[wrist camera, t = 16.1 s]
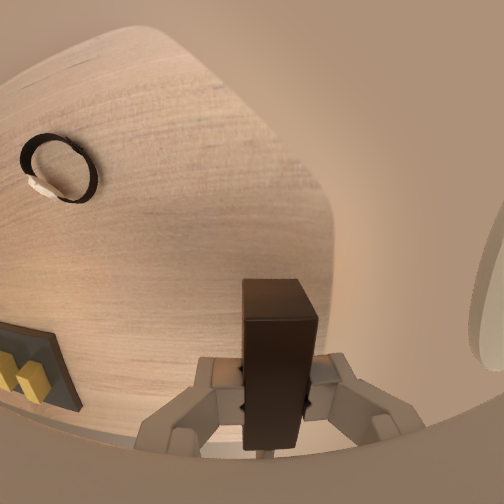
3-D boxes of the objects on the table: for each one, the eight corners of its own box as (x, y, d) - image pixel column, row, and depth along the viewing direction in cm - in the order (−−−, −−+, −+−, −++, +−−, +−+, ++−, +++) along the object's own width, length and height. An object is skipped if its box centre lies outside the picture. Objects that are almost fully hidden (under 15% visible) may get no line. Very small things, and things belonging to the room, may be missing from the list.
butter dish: (54, 333, 22) (48, 339, 21) (82, 406, 24) (79, 412, 23) (-38, 311, 21) (-43, 314, 20) (-13, 372, 24) (-17, 376, 22)
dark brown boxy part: (298, 277, 10) (319, 317, 7) (275, 463, 13) (280, 503, 10) (242, 277, 10) (243, 318, 7) (241, 464, 13) (243, 505, 10)
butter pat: (41, 363, 21) (27, 379, 18) (52, 388, 22) (40, 405, 19) (29, 359, 21) (15, 375, 18) (39, 384, 22) (27, 400, 19)
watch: (28, 173, 18) (1, 176, 14) (50, 122, 17) (23, 117, 13) (88, 217, 19) (63, 226, 16) (115, 162, 18) (91, 161, 15)
